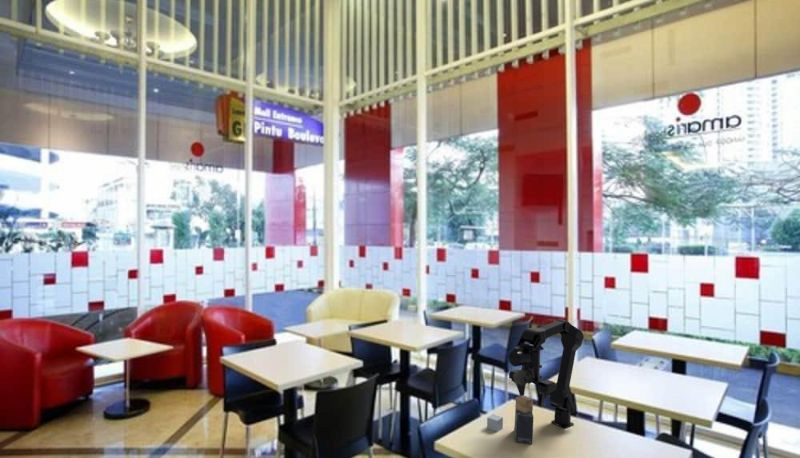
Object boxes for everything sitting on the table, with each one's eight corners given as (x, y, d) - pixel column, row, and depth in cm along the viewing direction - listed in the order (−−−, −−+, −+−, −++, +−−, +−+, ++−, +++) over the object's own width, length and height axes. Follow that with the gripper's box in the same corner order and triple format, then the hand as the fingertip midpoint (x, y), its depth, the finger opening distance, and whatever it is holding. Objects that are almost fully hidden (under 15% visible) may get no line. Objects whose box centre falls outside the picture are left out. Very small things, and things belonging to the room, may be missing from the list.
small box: (533, 445, 164) (534, 416, 164) (515, 442, 165) (516, 414, 165) (530, 432, 174) (531, 405, 174) (513, 430, 175) (514, 403, 175)
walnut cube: (523, 406, 173) (523, 395, 173) (532, 410, 169) (533, 399, 169) (515, 409, 170) (515, 397, 170) (524, 413, 167) (525, 401, 167)
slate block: (492, 425, 180) (492, 414, 180) (502, 428, 177) (503, 417, 177) (486, 428, 176) (487, 417, 176) (497, 432, 173) (497, 420, 173)
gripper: (499, 359, 175) (498, 398, 175) (538, 372, 159) (537, 415, 160) (518, 354, 181) (518, 393, 181) (557, 367, 166) (556, 409, 166)
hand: (531, 402), depth 172 cm, fingers open, 9 cm apart
